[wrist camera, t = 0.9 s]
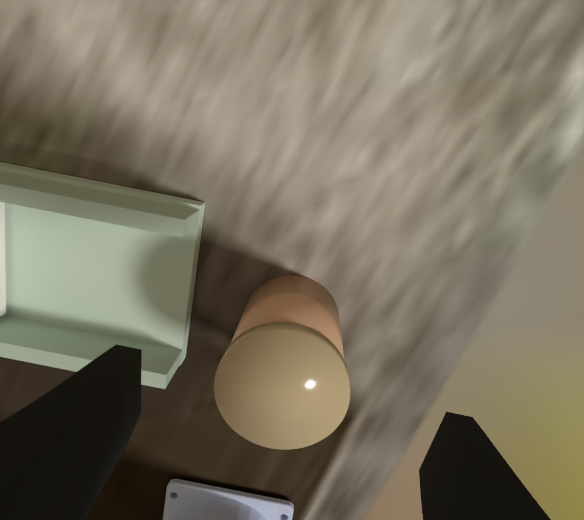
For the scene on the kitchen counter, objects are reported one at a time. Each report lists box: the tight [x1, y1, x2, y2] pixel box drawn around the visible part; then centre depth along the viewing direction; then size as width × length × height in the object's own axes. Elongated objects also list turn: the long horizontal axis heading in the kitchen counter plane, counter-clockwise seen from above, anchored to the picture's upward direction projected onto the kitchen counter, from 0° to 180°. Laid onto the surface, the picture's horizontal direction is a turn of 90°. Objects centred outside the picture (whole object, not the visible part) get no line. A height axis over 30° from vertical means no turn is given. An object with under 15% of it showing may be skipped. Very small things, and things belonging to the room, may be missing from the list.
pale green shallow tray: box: [0, 162, 205, 389], centre depth 21 cm, size 9×16×5 cm, turn 80°
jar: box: [214, 275, 350, 450], centre depth 20 cm, size 5×5×7 cm
